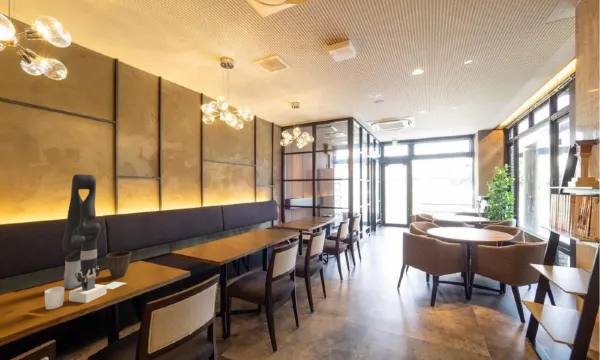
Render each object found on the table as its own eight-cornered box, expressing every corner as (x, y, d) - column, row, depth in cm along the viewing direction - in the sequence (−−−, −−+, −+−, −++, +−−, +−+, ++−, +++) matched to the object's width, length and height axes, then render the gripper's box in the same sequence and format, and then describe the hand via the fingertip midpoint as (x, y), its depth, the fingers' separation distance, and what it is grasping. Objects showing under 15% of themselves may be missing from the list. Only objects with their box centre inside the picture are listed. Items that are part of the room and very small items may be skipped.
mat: (99, 289, 162) (99, 287, 162) (114, 283, 172) (114, 281, 172) (112, 290, 160) (112, 289, 160) (126, 284, 170) (126, 282, 170)
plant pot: (108, 274, 188) (109, 252, 188) (132, 271, 194) (132, 250, 194) (103, 281, 175) (103, 258, 175) (128, 278, 181) (129, 255, 181)
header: (69, 302, 145) (69, 291, 145) (90, 293, 156) (90, 283, 156) (86, 304, 142) (86, 293, 142) (106, 295, 154) (106, 285, 154)
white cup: (41, 312, 133) (41, 293, 133) (48, 306, 140) (48, 287, 140) (60, 309, 136) (60, 291, 136) (66, 303, 144) (67, 285, 144)
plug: (81, 298, 148) (81, 275, 148) (89, 294, 152) (89, 273, 152) (87, 299, 147) (87, 276, 147) (95, 295, 151) (95, 273, 151)
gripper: (95, 253, 157) (95, 281, 157) (70, 260, 143) (70, 291, 143) (105, 254, 156) (105, 282, 156) (81, 261, 142) (81, 292, 142)
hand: (88, 286), depth 149 cm, fingers closed on plug, 4 cm apart
